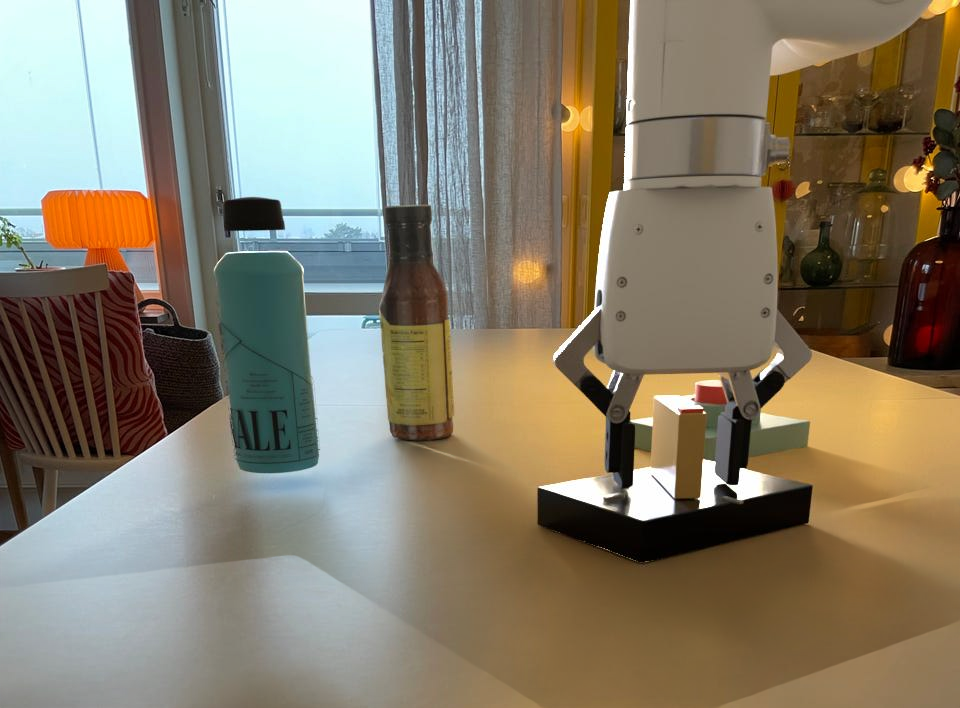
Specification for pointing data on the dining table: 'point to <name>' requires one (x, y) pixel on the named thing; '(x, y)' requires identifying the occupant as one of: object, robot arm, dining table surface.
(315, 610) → the dining table surface
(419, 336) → the sauce bottle
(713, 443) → the button block
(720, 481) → the dial base
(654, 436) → the tan rectangular block
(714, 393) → the button
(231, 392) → the beverage bottle
